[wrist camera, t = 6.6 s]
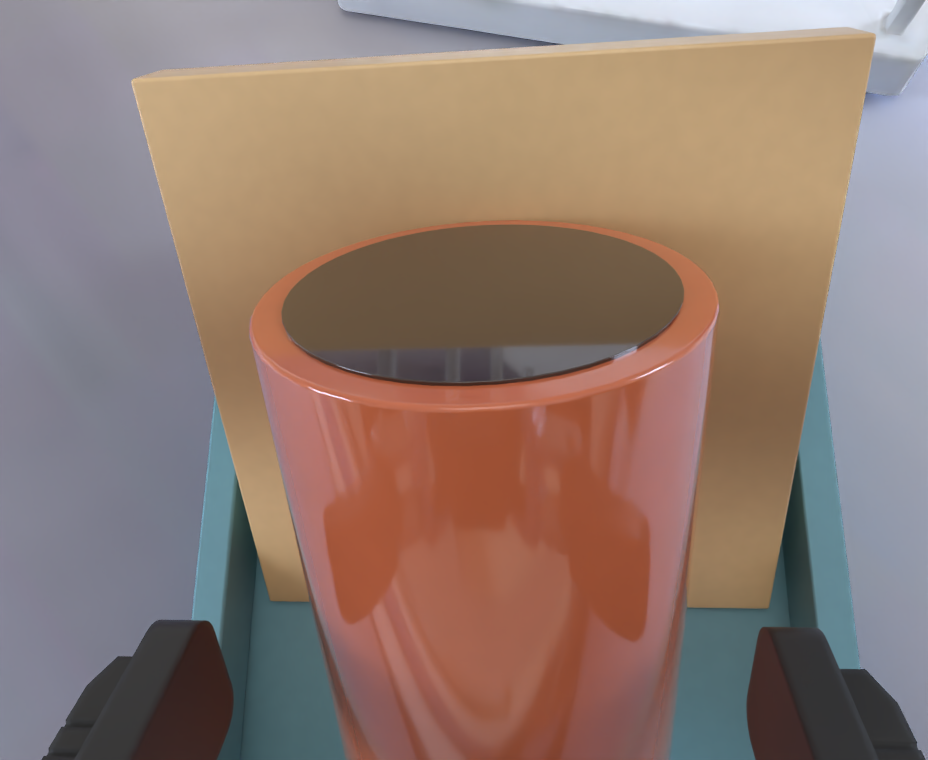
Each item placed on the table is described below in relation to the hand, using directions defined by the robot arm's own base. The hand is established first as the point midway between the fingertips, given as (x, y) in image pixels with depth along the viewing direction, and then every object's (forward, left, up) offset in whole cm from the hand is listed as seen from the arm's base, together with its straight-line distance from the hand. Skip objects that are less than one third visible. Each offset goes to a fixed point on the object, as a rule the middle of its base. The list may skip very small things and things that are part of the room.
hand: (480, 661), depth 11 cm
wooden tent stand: (+4, -4, -8) cm, 9 cm away
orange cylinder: (+1, -1, -7) cm, 7 cm away
